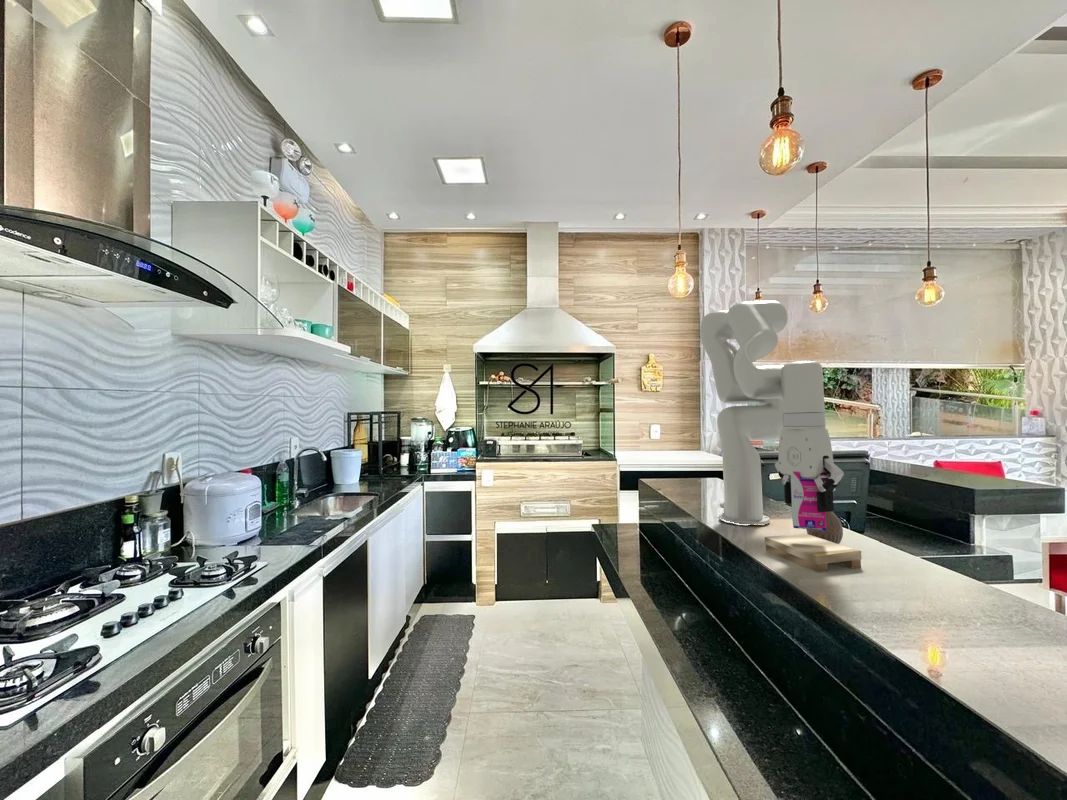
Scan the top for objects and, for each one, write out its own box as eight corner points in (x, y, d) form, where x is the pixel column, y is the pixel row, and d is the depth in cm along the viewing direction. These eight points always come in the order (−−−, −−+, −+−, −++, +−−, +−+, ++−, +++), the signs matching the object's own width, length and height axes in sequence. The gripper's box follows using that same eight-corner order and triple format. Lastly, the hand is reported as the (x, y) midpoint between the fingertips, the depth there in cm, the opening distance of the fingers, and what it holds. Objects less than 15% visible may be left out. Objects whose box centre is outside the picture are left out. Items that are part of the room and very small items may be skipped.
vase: (800, 541, 105) (798, 503, 105) (831, 540, 105) (829, 502, 105) (818, 550, 98) (816, 509, 99) (851, 549, 98) (848, 508, 98)
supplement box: (793, 528, 92) (790, 471, 92) (792, 522, 97) (789, 468, 97) (827, 531, 89) (824, 472, 90) (824, 524, 94) (821, 469, 95)
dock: (765, 550, 99) (764, 536, 99) (804, 546, 101) (804, 532, 101) (817, 572, 85) (816, 555, 85) (862, 567, 87) (861, 550, 87)
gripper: (758, 422, 102) (762, 501, 101) (823, 422, 85) (828, 517, 84) (788, 421, 103) (792, 498, 102) (856, 421, 86) (862, 514, 85)
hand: (808, 506), depth 93 cm, fingers closed on supplement box, 8 cm apart
